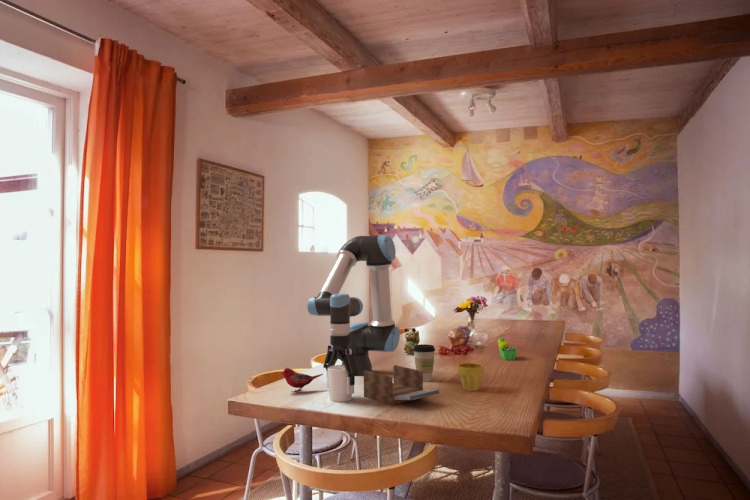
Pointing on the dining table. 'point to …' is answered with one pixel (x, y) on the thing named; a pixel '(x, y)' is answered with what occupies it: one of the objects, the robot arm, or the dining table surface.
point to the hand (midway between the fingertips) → (340, 390)
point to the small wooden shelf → (392, 384)
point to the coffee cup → (424, 360)
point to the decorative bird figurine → (297, 379)
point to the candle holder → (338, 383)
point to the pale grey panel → (416, 395)
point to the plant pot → (470, 375)
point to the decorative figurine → (411, 341)
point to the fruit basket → (506, 350)
